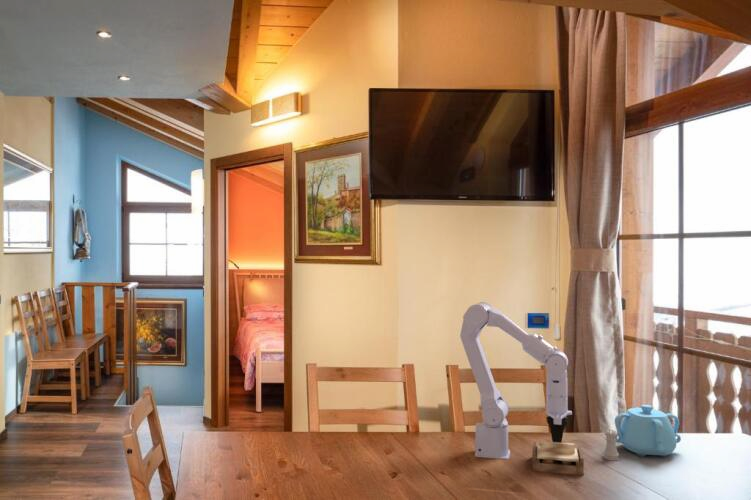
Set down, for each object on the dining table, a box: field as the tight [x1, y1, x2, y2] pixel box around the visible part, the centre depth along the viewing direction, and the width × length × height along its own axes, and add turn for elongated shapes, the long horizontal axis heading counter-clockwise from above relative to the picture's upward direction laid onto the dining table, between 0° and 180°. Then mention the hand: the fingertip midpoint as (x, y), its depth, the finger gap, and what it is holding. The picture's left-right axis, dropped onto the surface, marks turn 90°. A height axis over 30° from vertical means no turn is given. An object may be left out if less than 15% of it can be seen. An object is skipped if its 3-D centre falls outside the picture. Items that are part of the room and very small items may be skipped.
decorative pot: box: [614, 404, 682, 458], centre depth 183 cm, size 16×16×14 cm
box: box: [532, 441, 585, 476], centre depth 169 cm, size 13×11×5 cm
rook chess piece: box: [602, 429, 620, 461], centre depth 176 cm, size 4×4×8 cm
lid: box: [536, 440, 579, 462], centre depth 169 cm, size 11×10×3 cm
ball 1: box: [542, 459, 554, 464], centre depth 169 cm, size 3×3×3 cm
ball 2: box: [561, 460, 572, 465], centre depth 170 cm, size 3×3×3 cm
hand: (556, 443), depth 173 cm, fingers closed
